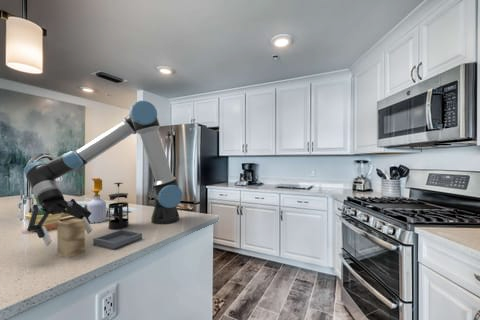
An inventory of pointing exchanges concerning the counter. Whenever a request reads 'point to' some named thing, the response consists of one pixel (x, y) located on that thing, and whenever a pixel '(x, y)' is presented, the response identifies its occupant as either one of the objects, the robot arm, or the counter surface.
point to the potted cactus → (50, 220)
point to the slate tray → (117, 239)
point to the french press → (118, 211)
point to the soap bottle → (97, 204)
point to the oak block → (71, 237)
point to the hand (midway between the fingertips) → (71, 237)
